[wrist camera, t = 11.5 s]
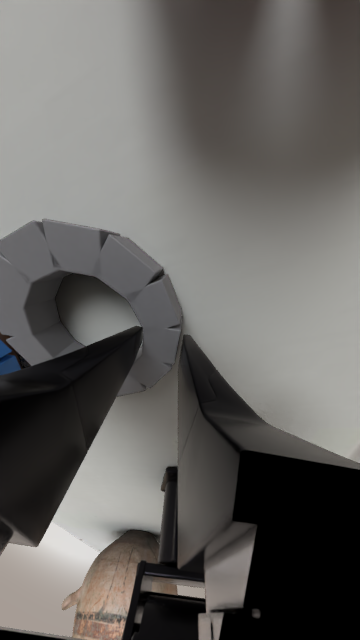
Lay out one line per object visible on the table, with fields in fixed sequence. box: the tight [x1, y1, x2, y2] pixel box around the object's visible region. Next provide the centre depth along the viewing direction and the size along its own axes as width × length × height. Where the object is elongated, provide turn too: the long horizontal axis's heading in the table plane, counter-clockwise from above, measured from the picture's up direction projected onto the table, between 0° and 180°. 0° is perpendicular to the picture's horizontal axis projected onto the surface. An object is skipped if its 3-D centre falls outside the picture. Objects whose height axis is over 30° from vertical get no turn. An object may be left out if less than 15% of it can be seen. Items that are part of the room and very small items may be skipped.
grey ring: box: [0, 219, 183, 397], centre depth 9 cm, size 10×10×2 cm
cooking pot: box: [62, 530, 178, 640], centre depth 29 cm, size 25×19×12 cm
